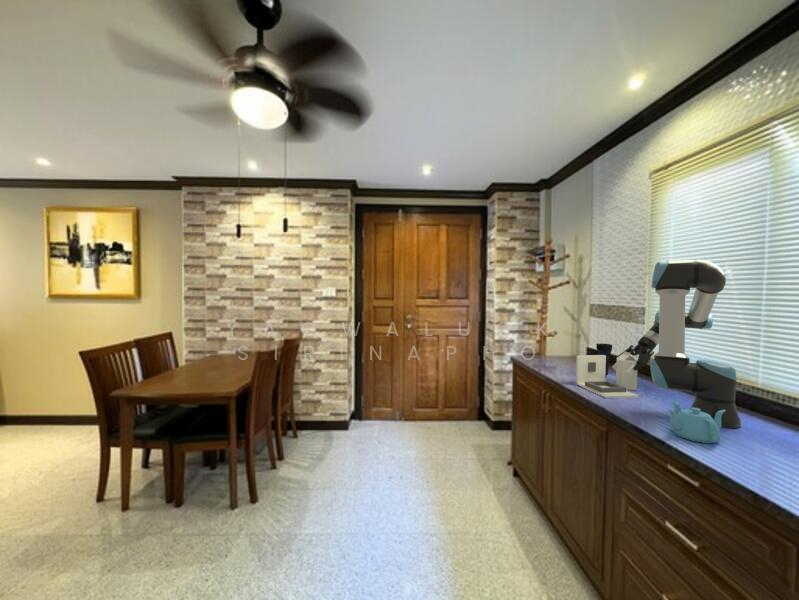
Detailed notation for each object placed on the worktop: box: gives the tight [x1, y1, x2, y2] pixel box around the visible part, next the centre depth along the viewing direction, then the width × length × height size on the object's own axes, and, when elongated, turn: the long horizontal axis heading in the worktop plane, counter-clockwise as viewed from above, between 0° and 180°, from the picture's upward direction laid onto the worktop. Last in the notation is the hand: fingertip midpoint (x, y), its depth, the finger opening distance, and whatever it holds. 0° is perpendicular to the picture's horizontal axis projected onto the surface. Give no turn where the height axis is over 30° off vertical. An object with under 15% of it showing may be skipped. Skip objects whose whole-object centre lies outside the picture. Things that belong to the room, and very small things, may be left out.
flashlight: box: [595, 342, 613, 379], centre depth 203 cm, size 8×8×20 cm
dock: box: [575, 354, 639, 399], centre depth 177 cm, size 24×16×16 cm, turn 6°
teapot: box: [667, 400, 726, 444], centre depth 122 cm, size 15×15×10 cm
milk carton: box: [615, 350, 638, 391], centre depth 183 cm, size 7×7×19 cm
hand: (621, 371), depth 183 cm, fingers open, 10 cm apart
